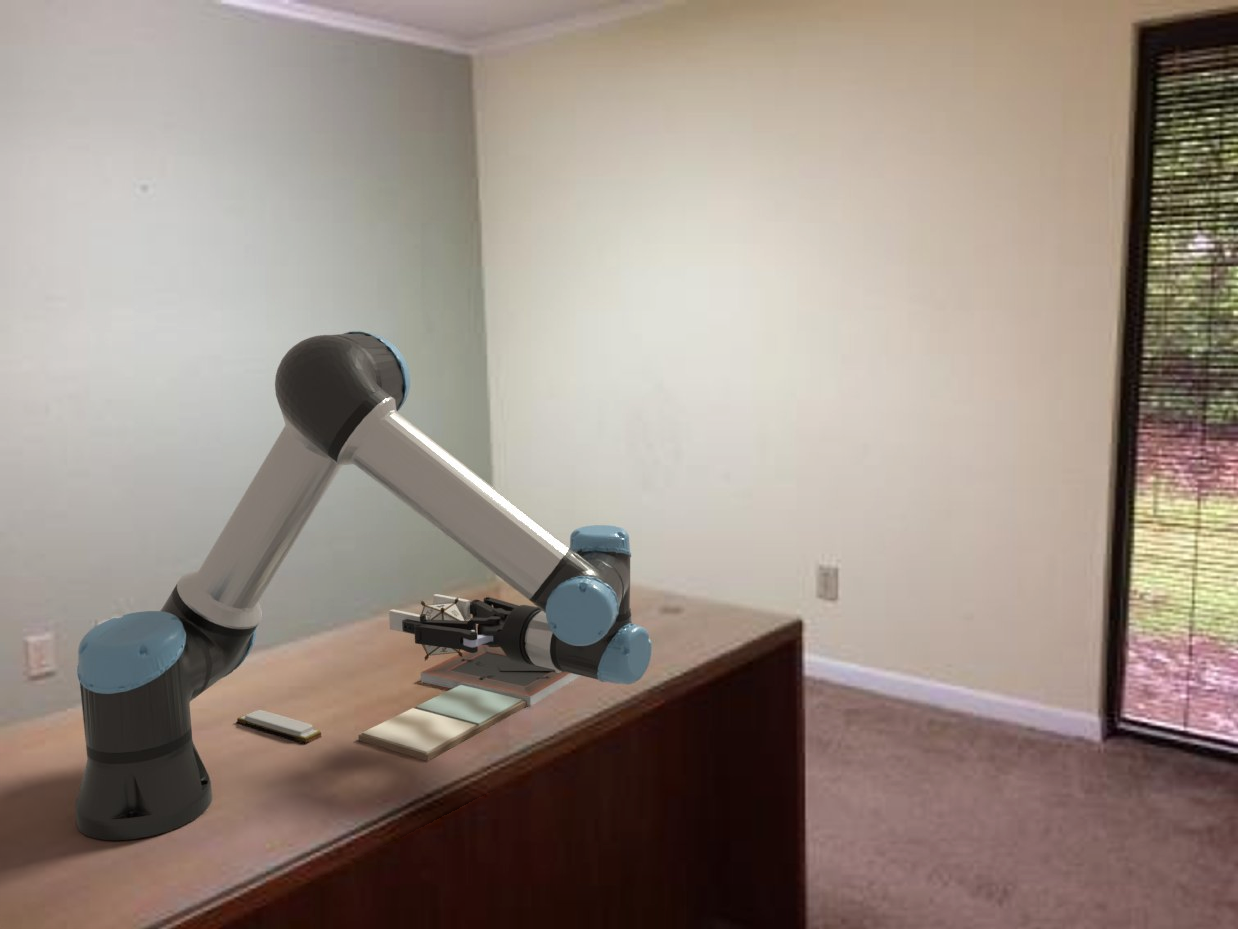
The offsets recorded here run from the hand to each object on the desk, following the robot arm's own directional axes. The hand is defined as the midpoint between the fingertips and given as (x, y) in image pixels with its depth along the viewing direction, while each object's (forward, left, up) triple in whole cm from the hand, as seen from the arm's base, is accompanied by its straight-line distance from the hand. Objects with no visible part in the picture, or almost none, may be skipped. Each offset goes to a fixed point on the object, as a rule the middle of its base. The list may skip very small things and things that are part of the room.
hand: (413, 611), depth 148 cm
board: (+3, -3, -17) cm, 18 cm away
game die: (+1, -5, -6) cm, 8 cm away
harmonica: (-11, +17, -18) cm, 27 cm away
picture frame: (+22, +1, -18) cm, 29 cm away
